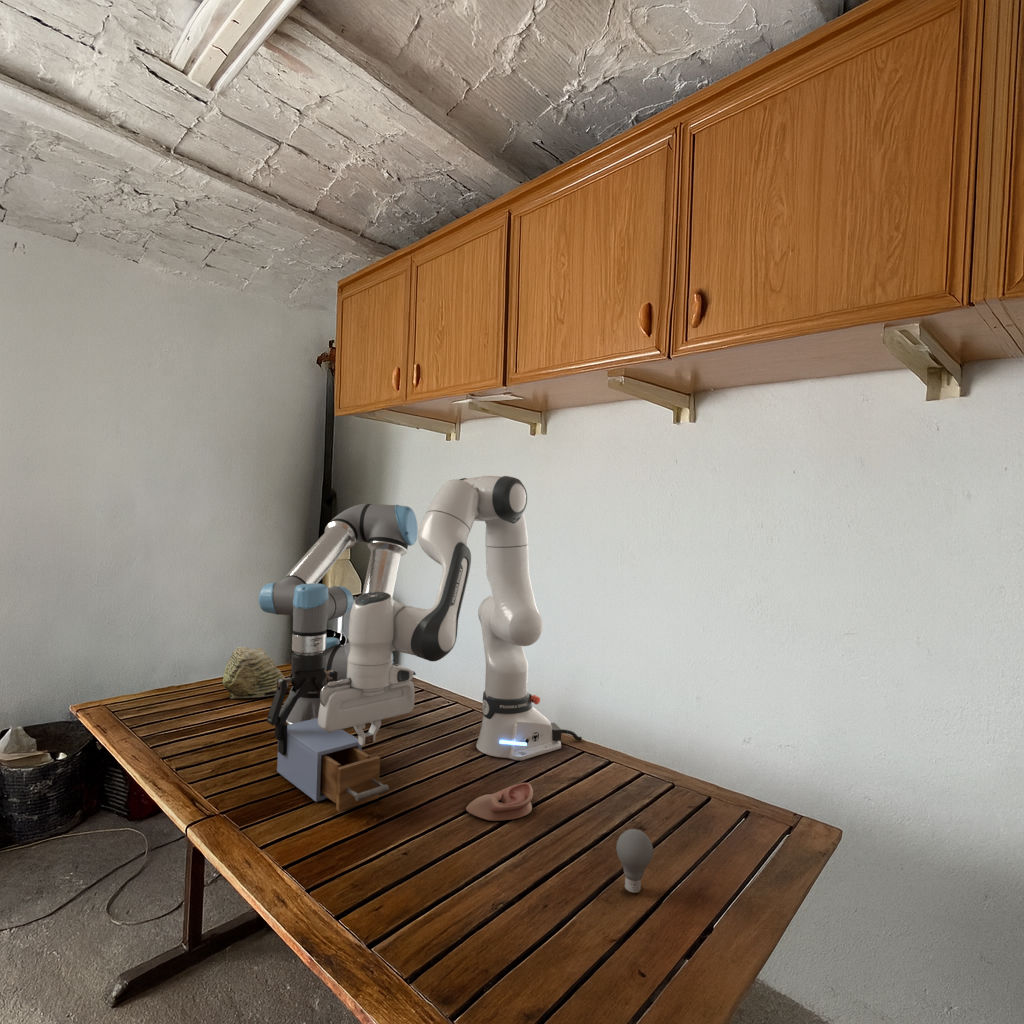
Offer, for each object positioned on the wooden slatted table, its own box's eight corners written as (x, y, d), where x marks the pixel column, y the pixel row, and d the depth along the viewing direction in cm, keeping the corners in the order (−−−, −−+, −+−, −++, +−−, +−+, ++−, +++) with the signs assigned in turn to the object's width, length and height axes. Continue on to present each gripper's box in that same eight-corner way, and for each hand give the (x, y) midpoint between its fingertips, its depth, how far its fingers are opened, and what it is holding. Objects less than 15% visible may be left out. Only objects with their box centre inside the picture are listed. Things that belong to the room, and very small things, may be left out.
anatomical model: (462, 797, 127) (476, 773, 139) (461, 816, 128) (476, 791, 139) (527, 806, 125) (536, 781, 136) (526, 826, 125) (535, 800, 136)
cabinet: (360, 787, 138) (361, 740, 138) (316, 802, 131) (317, 752, 131) (319, 760, 152) (320, 717, 152) (276, 771, 145) (278, 726, 145)
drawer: (392, 807, 128) (394, 765, 128) (352, 822, 122) (353, 778, 122) (336, 770, 145) (337, 733, 145) (298, 781, 138) (299, 742, 138)
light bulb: (610, 879, 108) (613, 822, 108) (644, 879, 109) (647, 822, 109) (619, 902, 102) (622, 840, 102) (655, 901, 103) (658, 840, 103)
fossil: (218, 695, 195) (220, 647, 195) (278, 685, 208) (279, 640, 207) (228, 703, 189) (230, 653, 188) (289, 692, 201) (290, 645, 201)
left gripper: (266, 662, 135) (262, 765, 135) (361, 648, 151) (358, 740, 151) (252, 655, 140) (249, 754, 141) (345, 642, 156) (342, 731, 157)
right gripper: (329, 687, 117) (326, 761, 117) (420, 670, 131) (417, 736, 132) (313, 679, 122) (310, 750, 122) (402, 663, 136) (400, 727, 136)
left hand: (305, 747), depth 146 cm, fingers closed on cabinet, 10 cm apart
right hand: (366, 743), depth 127 cm, fingers closed
